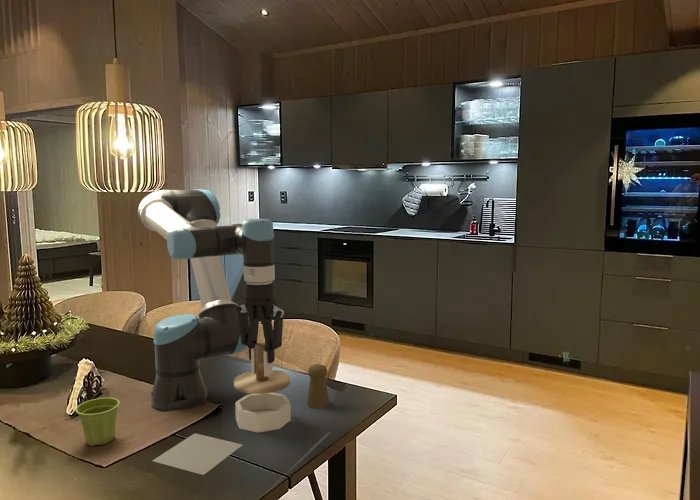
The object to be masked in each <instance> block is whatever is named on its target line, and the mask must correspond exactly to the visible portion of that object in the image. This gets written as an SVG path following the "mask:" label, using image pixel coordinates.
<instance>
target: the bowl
mask: <svg viewBox="0 0 700 500" xmlns="http://www.w3.org/2000/svg"><path fill="white" fill-rule="evenodd" d="M234 406H235V408H234V409H235V421H236V423H237V426H238V429H239V430H243V431H249V432H254V433H263V432H269V431H274V430H280V429H282V428H283V427H284V426H285V425H286V424H287V423H289V422H291V417H292V416H291V413H292V412H291V402H290V400H289V399H288V397H287V395H285V394H282V393H276V392H272V393H265V394H250V393H248V394H246V395H244V396H243V397H242V398H240V399H238V400H237V401H235V403H234Z"/></svg>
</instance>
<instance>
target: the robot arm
mask: <svg viewBox="0 0 700 500" xmlns="http://www.w3.org/2000/svg"><path fill="white" fill-rule="evenodd" d="M220 210H221V207H220V203H219V201H218V198H217V197H216V195H215V194H214V193H213V192H212V191H210V190H209V189H200V188H195V189H161V190H160V189H159V190H156V191H153V192H151V193H150V194H148V195H147V196H145V197H144V198H143V199H142V200H141V202H140V203H139V205H138V208H137V216H138V219H139V221H140V223H141V225H142V226H144V227H145V228H146V229H148V230H150V231H153V232H156V233H157V234H159V235H160V236H161V237H162V238H164V240H166V247H167V248H166V249H167V252H168V253H169V256H170V258H172V259H173V260H190V261H191V265H192V270H193V271H192V272H193V275H194V279H195V283H196V287H197V292H198V295H199V299H200V304H201V310H200V311H199V313H198V316H197V315H196V314H193V313H185V314H182V313H181V314H177V315H172V316H169V317H165V318H163V319H161V320H160V321H158V323H156V325H155V326H154V328H153V329H154V330H153V344H154V357H155V358H154V359H155V360H154V361H155V378H154V383H153V386H152V391H150V392H151V393H150V404H151V407H153V408H154V409H156V410H160V411H166V412H169V411H176V410H183V409H188V408H192V407H195V406H198V405H200V404H203V403H204V402H205V401H206V400H207V398H208V388H207V386H206V384H205V383H204V378H203V375H202V373H201V371H200V370H201V369H200V364H201V363H200V361H203V360H208V359H214V358H219V357H223V356H229V355H231V356H232V355H233V354H238V353H241V352H243V351H245V350H246V349H247V348H248V360H249V361H251V362H250V363H251V364H250V365H251V371H252V374H256V356H255V344H257V343H258V336H259V328H260V327H259V325H260V324H261V325H262V330H263V339H264V343H265V345H266V349H265V350H264V351H263V354H264V376H266V377H267V376H269V375H270V374H272V373H273V371H272V370H273V363H274V362H275V358H276V357H275V356H276V355H275V350H276V349H278V348H280V347H282V343H283V342H282V341H283V327H284V317H285V314H286V309H285V308H282V309H281V308H279V307H278V306H277V303H276V301H275V297H276V283H275V282H274V281H275V279H276V276H275V275H276V273H275V270H276V269H275V268H276V267H275V232H274V224H273V221H272V220H271V219H268V218H248V219H244V220H243V221H242V223H232V224H229V225H218V224H219V223H220V220H221V212H220ZM232 255H242V259H243V260H242V262H243V263H242V264H243V281H244V284H243V288H244V290H243V293H244V298H245V300H244V304H241V305H238V304H237V303H236V302H234V301H232V299H231V295H230V291H229V287H228V283H227V279H226V276H225V272H224V271H225V270H224V268H223V262H222V259H221V257H222V256H232Z"/></svg>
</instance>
